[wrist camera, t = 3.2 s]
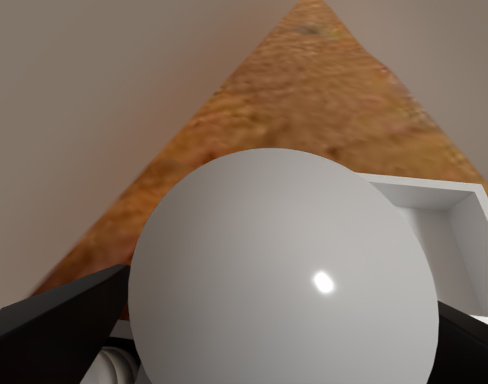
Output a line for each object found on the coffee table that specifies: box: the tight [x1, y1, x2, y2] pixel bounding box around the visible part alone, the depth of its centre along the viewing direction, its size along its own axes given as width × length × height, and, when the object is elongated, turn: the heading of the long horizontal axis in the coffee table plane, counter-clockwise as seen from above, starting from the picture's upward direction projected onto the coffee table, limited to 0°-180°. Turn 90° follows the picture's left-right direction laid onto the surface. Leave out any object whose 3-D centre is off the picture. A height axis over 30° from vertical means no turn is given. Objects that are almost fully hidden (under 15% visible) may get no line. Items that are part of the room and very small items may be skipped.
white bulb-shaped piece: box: [128, 148, 439, 384], centre depth 9 cm, size 4×4×13 cm
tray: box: [356, 173, 488, 324], centre depth 15 cm, size 8×8×4 cm
